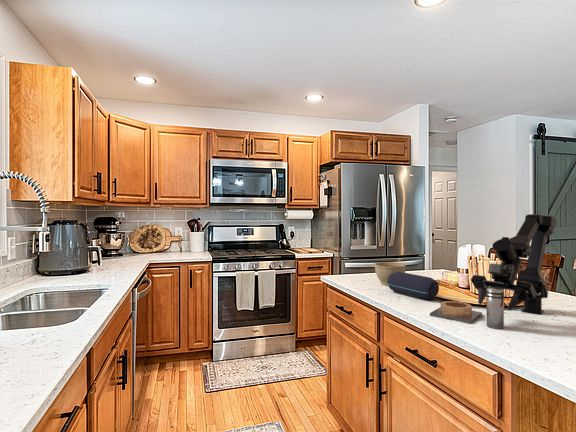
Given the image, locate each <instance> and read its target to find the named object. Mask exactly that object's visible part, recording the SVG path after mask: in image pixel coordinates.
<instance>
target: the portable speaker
mask: <svg viewBox="0 0 576 432" xmlns="http://www.w3.org/2000/svg"><path fill="white" fill-rule="evenodd" d="M387 283H388V285H387V286H388V288H389V289H390V290H391V291H393V292H394V293H398V294H403V295H406V296H410V297H414V298H417V299H418V298H419V299H421V300H426V301H432V300H435V299H436V298H437V296H438V294H439V290H440V286H439V282H437V281H436V280H435V279H434V278H433V277H430V276H425V275H419V274H413V273H408V272H405V273H404V272H394V273H392V274H390V275H389V277H388V280H387ZM436 295H437V296H436ZM435 296H436V297H435Z"/></svg>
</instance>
